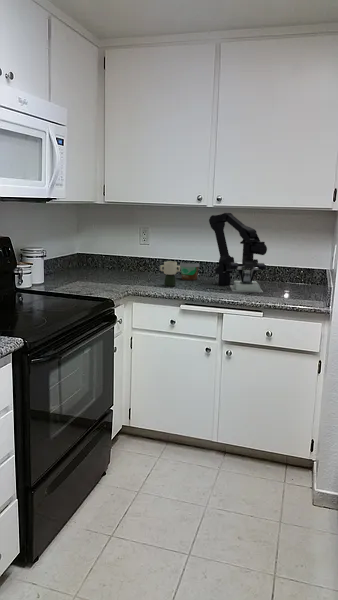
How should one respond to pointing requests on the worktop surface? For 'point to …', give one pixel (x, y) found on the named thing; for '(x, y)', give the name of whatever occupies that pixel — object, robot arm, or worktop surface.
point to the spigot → (246, 277)
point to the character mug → (170, 272)
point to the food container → (189, 271)
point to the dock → (246, 287)
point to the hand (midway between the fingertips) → (246, 282)
